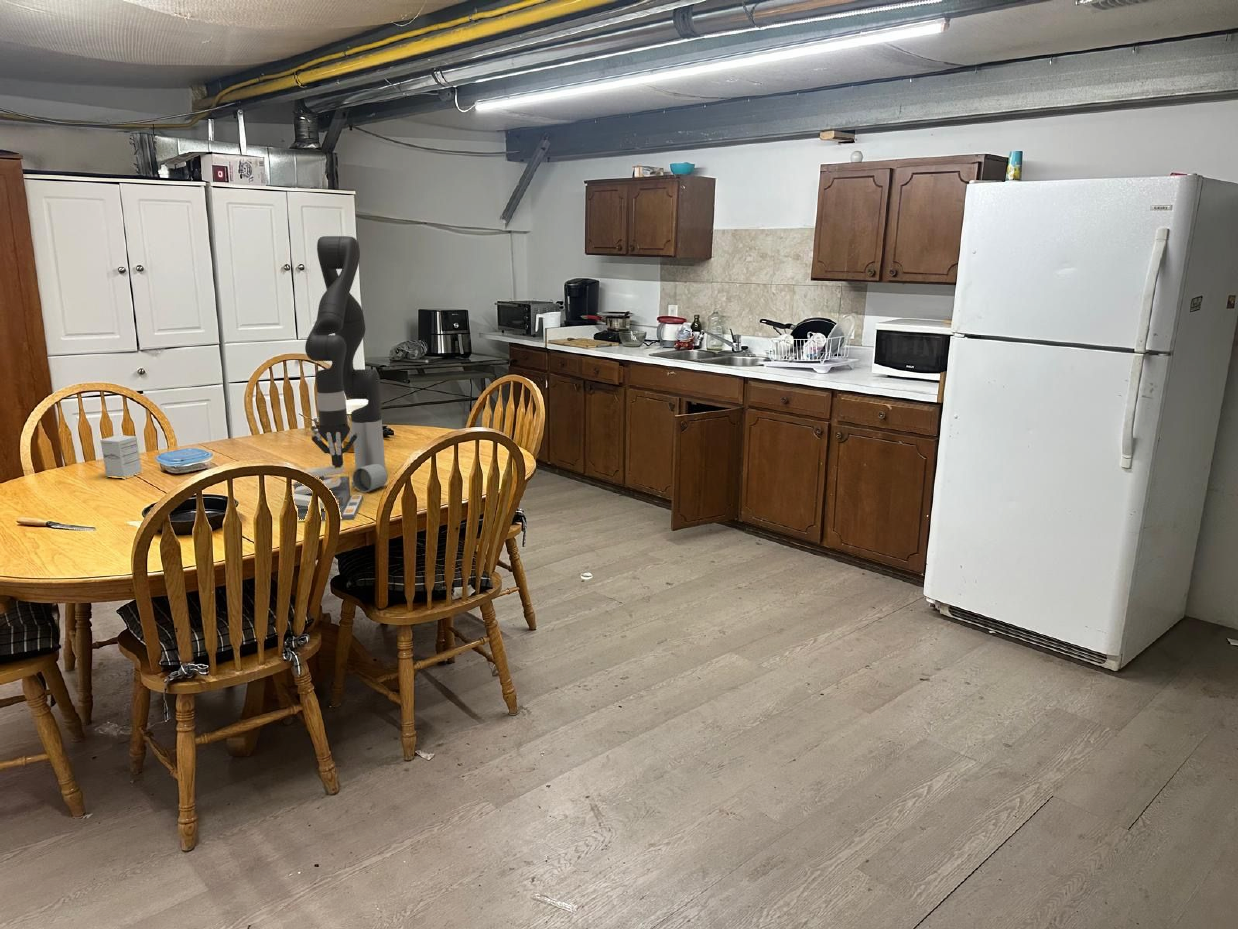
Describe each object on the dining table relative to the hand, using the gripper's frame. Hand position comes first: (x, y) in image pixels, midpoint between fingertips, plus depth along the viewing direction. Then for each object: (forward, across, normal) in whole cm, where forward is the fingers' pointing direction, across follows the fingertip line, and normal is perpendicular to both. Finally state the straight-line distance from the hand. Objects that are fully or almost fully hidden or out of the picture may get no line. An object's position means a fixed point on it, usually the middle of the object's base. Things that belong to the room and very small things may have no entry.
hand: (338, 466), depth 242 cm
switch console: (+11, +3, +6) cm, 13 cm away
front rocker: (+6, +5, +12) cm, 14 cm away
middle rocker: (+4, +5, +6) cm, 9 cm away
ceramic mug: (+11, -6, -13) cm, 18 cm away
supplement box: (+10, +73, -38) cm, 83 cm away
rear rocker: (+1, +5, 0) cm, 5 cm away
